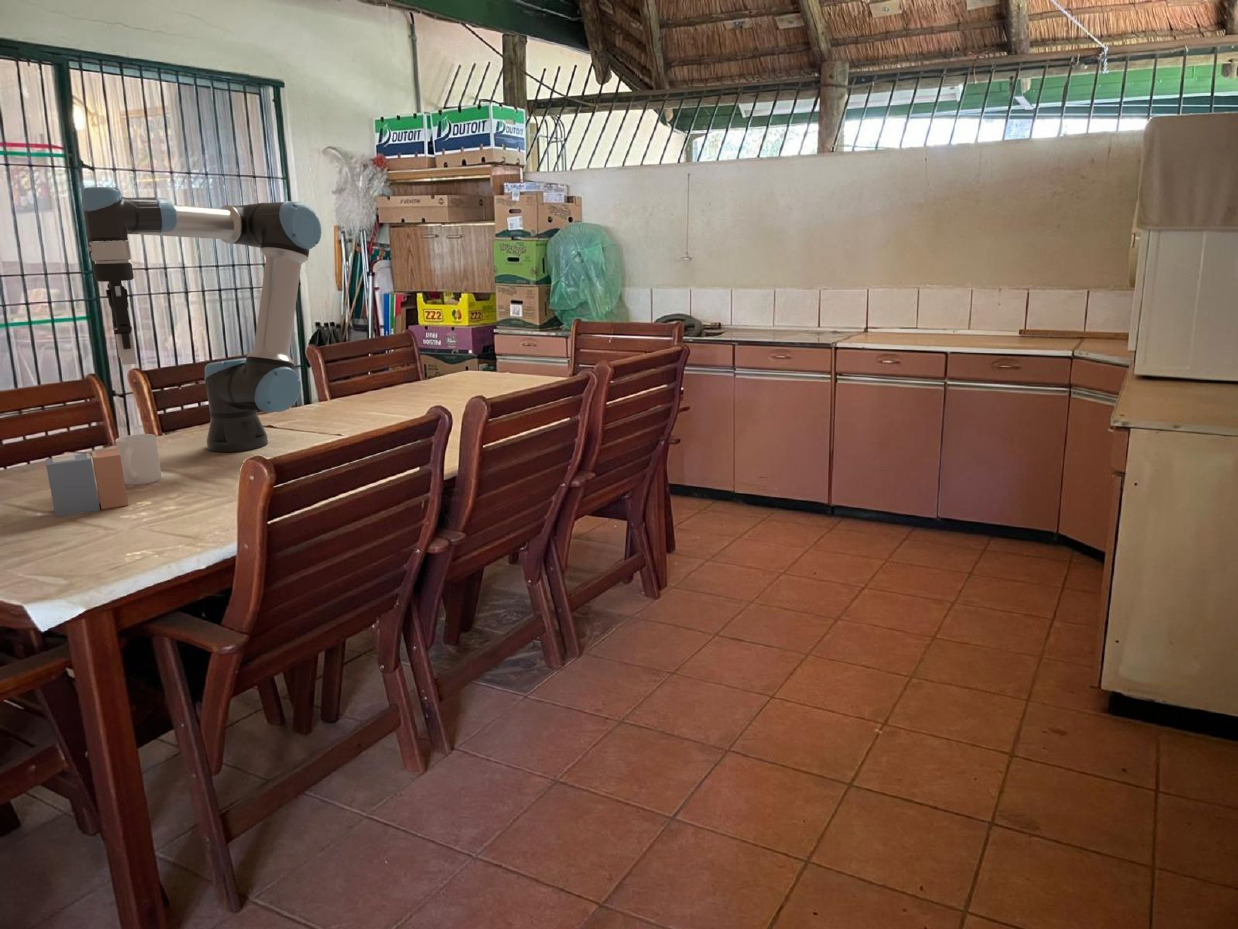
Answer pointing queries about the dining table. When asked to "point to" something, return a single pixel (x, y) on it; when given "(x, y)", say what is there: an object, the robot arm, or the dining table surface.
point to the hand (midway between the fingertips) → (127, 360)
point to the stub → (109, 479)
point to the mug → (139, 459)
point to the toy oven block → (72, 484)
